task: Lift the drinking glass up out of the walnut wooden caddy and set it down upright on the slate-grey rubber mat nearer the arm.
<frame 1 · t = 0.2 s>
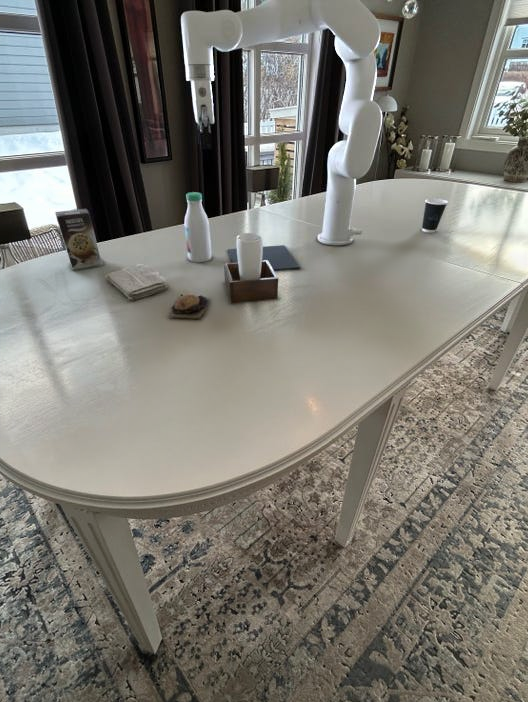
hand: (205, 146, 110), 31 cm above the table, tool pointing down, fingers open, 9 cm apart
mat: (262, 259, 121), on the table
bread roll: (190, 309, 94), on the table
washcloth: (137, 285, 105), on the table
dixie cup: (428, 231, 144), on the table
caddy: (250, 290, 102), on the table
milk bottle: (200, 258, 122), on the table
cookie box: (86, 265, 118), on the table
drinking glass: (250, 291, 102), resting in caddy
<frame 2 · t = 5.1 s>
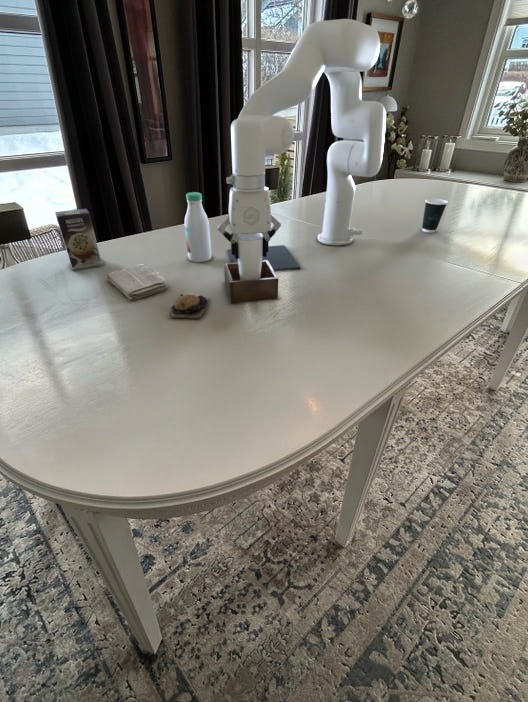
hand: (249, 255, 96), 10 cm above the table, tool pointing down, fingers closed on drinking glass, 6 cm apart
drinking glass: (250, 291, 102), resting in caddy, touching gripper
everything else where it was.
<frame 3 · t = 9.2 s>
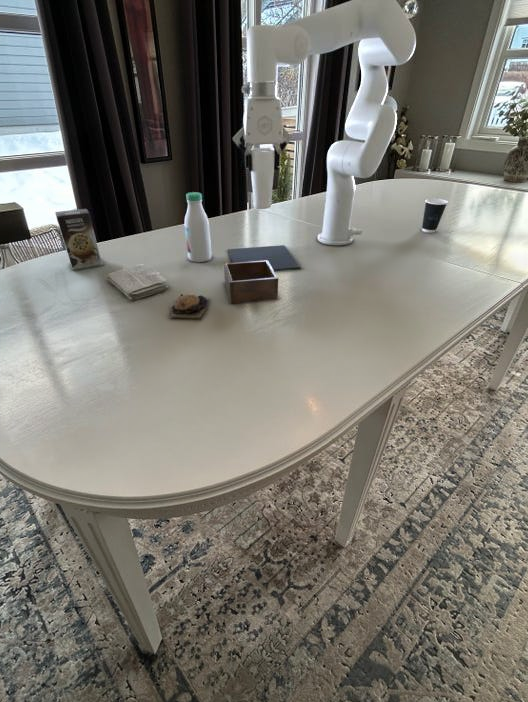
hand: (262, 169, 103), 27 cm above the table, tool pointing down, fingers closed on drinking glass, 6 cm apart
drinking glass: (262, 207, 109), point 17 cm above the table, touching gripper
everything else where it was.
when the fingers open (11 cm above the table, at t = 13.4 s): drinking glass stays where it is, resting on mat.
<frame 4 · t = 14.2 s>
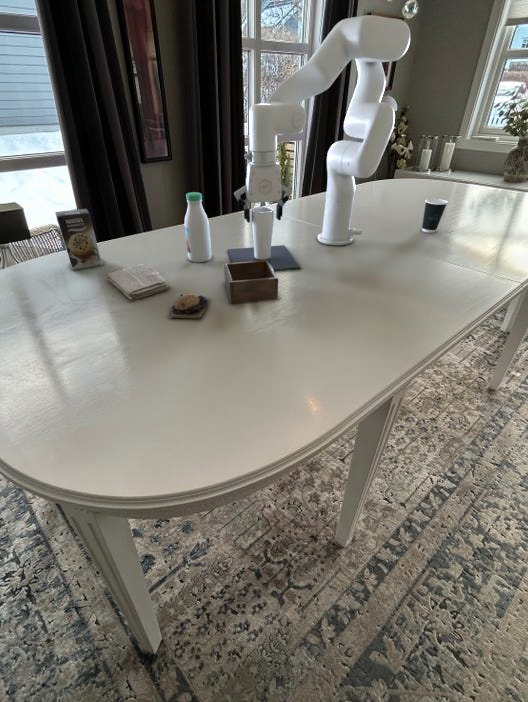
hand: (263, 220, 113), 12 cm above the table, tool pointing down, fingers open, 9 cm apart
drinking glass: (262, 258, 120), resting on mat
everything else where it was.
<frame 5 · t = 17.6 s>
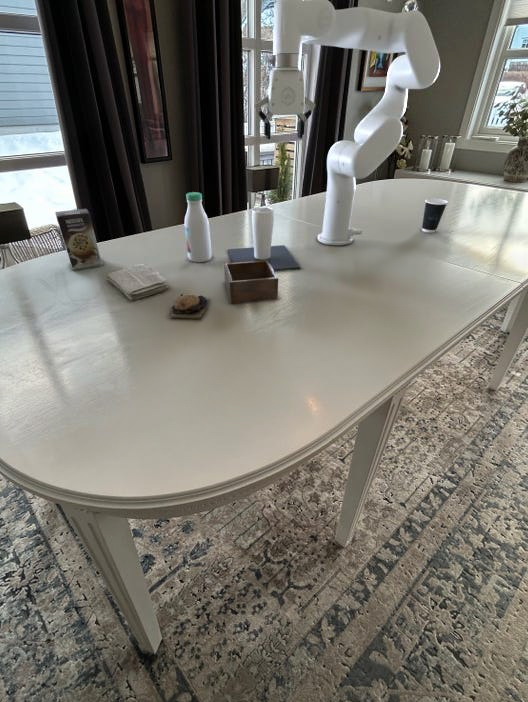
hand: (284, 138, 108), 33 cm above the table, tool pointing down, fingers open, 9 cm apart
nothing on the table moved.
at the end: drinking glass inside the target area on the mat (0.0 cm from its centre), point 0.4 cm above the mat's base; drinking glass tilted 0°; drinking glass touching mat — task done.
